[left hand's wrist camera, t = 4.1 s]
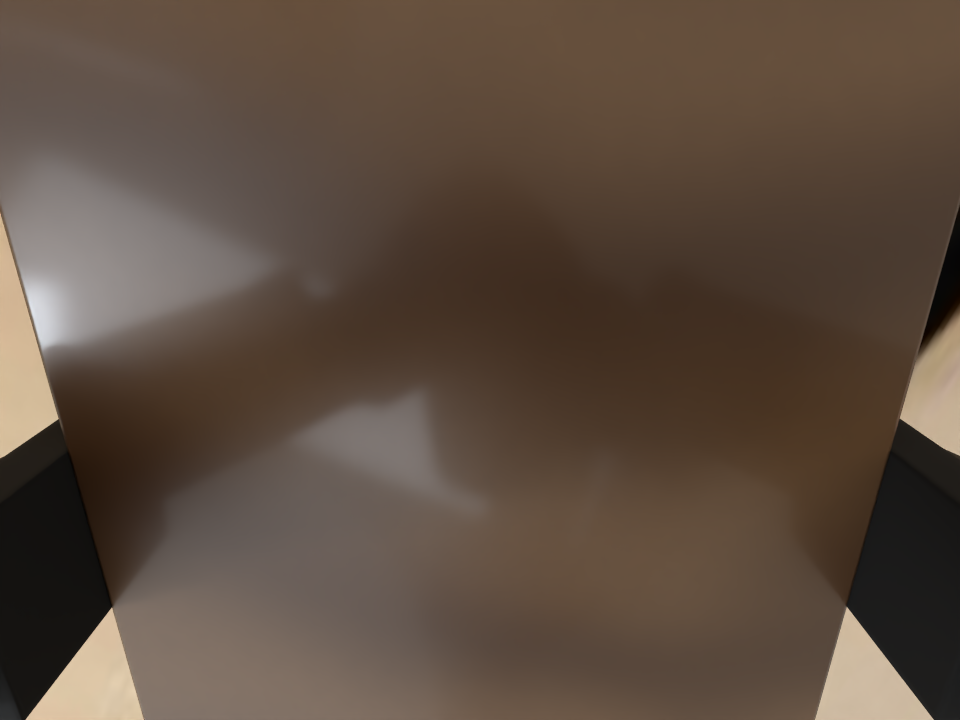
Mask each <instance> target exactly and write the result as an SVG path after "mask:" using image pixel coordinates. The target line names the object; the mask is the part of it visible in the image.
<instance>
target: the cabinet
mask: <svg viewBox="0 0 960 720" xmlns="http://www.w3.org/2000/svg"><path fill="white" fill-rule="evenodd" d="M959 205H960V0H0V213H1V217H2V220H3V224H4V227H5V231H6V234H7V238H8V241H9V245H10V248H11V252H12V256H13V259H14V263H15V266H16V270H17V273H18V277H19V280H20V284H21V287H22V291H23V294H24V298H25V301H26V305H27V308H28V312H29V315H30V319H31V323H32V326H33V330H34V333H35V337H36V340H37V344H38V347H39V351H40V354H41V358H42V361H43V365H44V368H45V372H46V375H47V379H48V383H49V386H50V390H51V393H52V397H53V400H54V404H55V407H56V411H57V414H58V418H59V421H60V425H61V428H62V432H63V435H64V439H65V443H66V446H67V450H68V453H69V457H70V460H71V464H72V467H73V471H74V474H75V478H76V481H77V485H78V488H79V492H80V495H81V499H82V502H83V506H84V510H85V513H86V517H87V520H88V524H89V527H90V531H91V534H92V538H93V541H94V545H95V548H96V552H97V555H98V559H99V562H100V566H101V570H102V573H103V577H104V580H105V584H106V587H107V591H108V594H109V598H110V601H111V605H112V608H113V612H114V615H115V619H116V622H117V626H118V630H119V633H120V637H121V640H122V644H123V647H124V651H125V654H126V658H127V661H128V665H129V668H130V672H131V675H132V679H133V682H134V686H135V690H136V693H137V697H138V700H139V704H140V707H141V711H142V714H143V718H144V720H815V718H816V714H817V710H818V707H819V703H820V700H821V696H822V693H823V689H824V685H825V682H826V678H827V675H828V671H829V668H830V664H831V661H832V657H833V653H834V650H835V646H836V643H837V639H838V636H839V632H840V629H841V625H842V621H843V618H844V614H845V611H846V607H847V604H848V600H849V596H850V593H851V589H852V586H853V582H854V579H855V575H856V572H857V568H858V564H859V561H860V557H861V554H862V550H863V547H864V543H865V540H866V536H867V532H868V529H869V525H870V522H871V518H872V515H873V511H874V507H875V504H876V500H877V497H878V493H879V490H880V486H881V483H882V479H883V475H884V472H885V468H886V465H887V461H888V458H889V454H890V451H891V447H892V443H893V440H894V436H895V433H896V429H897V426H898V422H899V418H900V415H901V411H902V408H903V404H904V401H905V397H906V394H907V390H908V386H909V383H910V379H911V376H912V372H913V369H914V365H915V362H916V358H917V354H918V351H919V347H920V344H921V340H922V337H923V333H924V329H925V326H926V322H927V319H928V315H929V312H930V308H931V305H932V301H933V297H934V294H935V290H936V287H937V283H938V280H939V276H940V273H941V269H942V265H943V262H944V258H945V255H946V251H947V248H948V244H949V240H950V237H951V233H952V230H953V226H954V223H955V219H956V216H957V212H958V208H959Z"/></svg>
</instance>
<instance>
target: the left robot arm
mask: <svg viewBox="0 0 960 720" xmlns="http://www.w3.org/2000/svg"><path fill="white" fill-rule="evenodd" d="M847 607H848V609H849V610H850V611H851V613H852V614H853V615H854V616H855V618H856V619H857V620H858V622H859V623H860V624H861V626H862V627H863V628H864V629H865V631H866V632H867V633H868V635H869V636H870V637H871V638H872V640H873V641H874V642H875V644H876V645H877V646H878V648H879V649H880V650H881V651H882V653H883V654H884V655H885V657H886V658H887V659H888V661H889V662H890V663H891V664H892V666H893V667H894V668H895V670H896V671H897V672H898V674H899V675H900V676H901V677H902V679H903V680H904V681H905V683H906V684H907V685H908V687H909V688H910V689H911V690H912V692H913V693H914V694H915V696H916V697H917V698H918V700H919V701H920V702H921V703H922V705H923V706H924V707H925V709H926V710H927V711H928V713H929V714H930V715H931V716H932V718H933V719H934V720H960V456H959V455H956V454H954V453H952V452H950V451H947V450H945V449H943V448H942V447H940V446H939V445H937V444H936V443H934V442H933V441H931V440H930V439H929V438H927V437H926V436H924V435H923V434H921V433H920V432H918V431H917V430H915V429H914V428H913V427H911V426H910V425H908V424H907V423H905V422H904V421H902V420H901V419H899V422H898V426H897V429H896V433H895V436H894V440H893V443H892V447H891V451H890V454H889V458H888V461H887V465H886V468H885V472H884V475H883V479H882V483H881V486H880V490H879V493H878V497H877V500H876V504H875V507H874V511H873V515H872V518H871V522H870V525H869V529H868V532H867V536H866V540H865V543H864V547H863V550H862V554H861V557H860V561H859V564H858V568H857V572H856V575H855V579H854V582H853V586H852V589H851V593H850V596H849V600H848V604H847ZM111 608H112V605H111V601H110V598H109V594H108V591H107V587H106V584H105V580H104V577H103V573H102V570H101V566H100V562H99V559H98V555H97V552H96V548H95V545H94V541H93V538H92V534H91V531H90V527H89V524H88V520H87V517H86V513H85V510H84V506H83V502H82V499H81V495H80V492H79V488H78V485H77V481H76V478H75V474H74V471H73V467H72V464H71V460H70V457H69V453H68V450H67V446H66V443H65V439H64V435H63V432H62V428H61V425H60V421H59V419H58V420H57V421H55V422H54V423H53V424H51V425H50V426H48V427H47V428H45V429H44V430H42V431H41V432H39V433H38V434H37V435H35V436H34V437H32V438H31V439H29V440H28V441H26V442H25V443H23V444H22V445H21V446H19V447H18V448H16V449H15V450H13V451H12V452H10V453H9V454H7V455H6V456H4V457H2V458H0V720H25V719H26V718H27V717H28V716H29V714H30V713H31V712H32V710H33V709H34V708H35V706H36V705H37V704H38V703H39V701H40V700H41V699H42V697H43V696H44V695H45V693H46V692H47V691H48V690H49V688H50V687H51V686H52V684H53V683H54V682H55V680H56V679H57V678H58V677H59V675H60V674H61V673H62V671H63V670H64V669H65V667H66V666H67V665H68V664H69V662H70V661H71V660H72V658H73V657H74V656H75V654H76V653H77V652H78V651H79V649H80V648H81V647H82V645H83V644H84V643H85V642H86V640H87V639H88V638H89V636H90V635H91V634H92V632H93V631H94V630H95V629H96V627H97V626H98V625H99V623H100V622H101V621H102V619H103V618H104V617H105V616H106V614H107V613H108V612H109V610H110V609H111Z"/></svg>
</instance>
